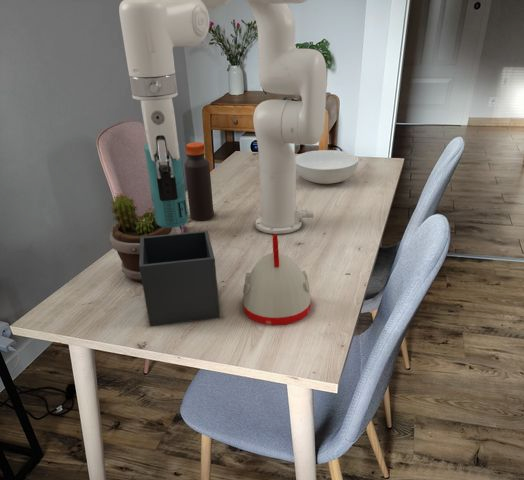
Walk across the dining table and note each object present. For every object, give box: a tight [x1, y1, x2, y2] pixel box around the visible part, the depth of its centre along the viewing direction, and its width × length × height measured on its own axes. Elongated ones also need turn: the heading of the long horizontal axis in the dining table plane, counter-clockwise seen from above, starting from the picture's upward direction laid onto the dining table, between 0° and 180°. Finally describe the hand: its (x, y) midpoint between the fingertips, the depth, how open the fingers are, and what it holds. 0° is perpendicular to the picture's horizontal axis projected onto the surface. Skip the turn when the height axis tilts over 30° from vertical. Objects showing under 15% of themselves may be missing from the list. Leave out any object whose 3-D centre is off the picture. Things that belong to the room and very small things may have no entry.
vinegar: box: [184, 141, 215, 222], centre depth 148 cm, size 7×7×20 cm
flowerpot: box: [108, 189, 176, 284], centre depth 119 cm, size 14×15×20 cm
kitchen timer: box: [242, 234, 312, 326], centre depth 106 cm, size 14×14×15 cm
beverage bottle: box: [143, 117, 189, 228], centre depth 97 cm, size 6×7×20 cm
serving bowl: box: [295, 149, 359, 185], centre depth 175 cm, size 21×21×7 cm
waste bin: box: [139, 230, 221, 327], centre depth 109 cm, size 14×14×13 cm
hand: (168, 192), depth 99 cm, fingers closed on beverage bottle, 6 cm apart
